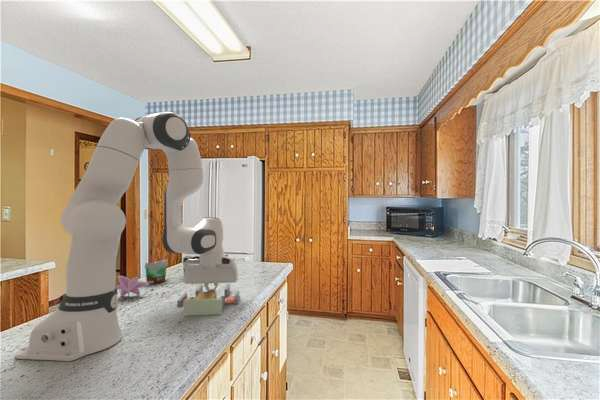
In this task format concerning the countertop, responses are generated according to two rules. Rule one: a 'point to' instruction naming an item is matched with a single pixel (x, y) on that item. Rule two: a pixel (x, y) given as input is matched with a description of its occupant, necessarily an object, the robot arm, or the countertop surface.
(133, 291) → the lily
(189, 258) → the pen holder
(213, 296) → the honey block
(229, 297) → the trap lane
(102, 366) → the countertop surface
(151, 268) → the food container
